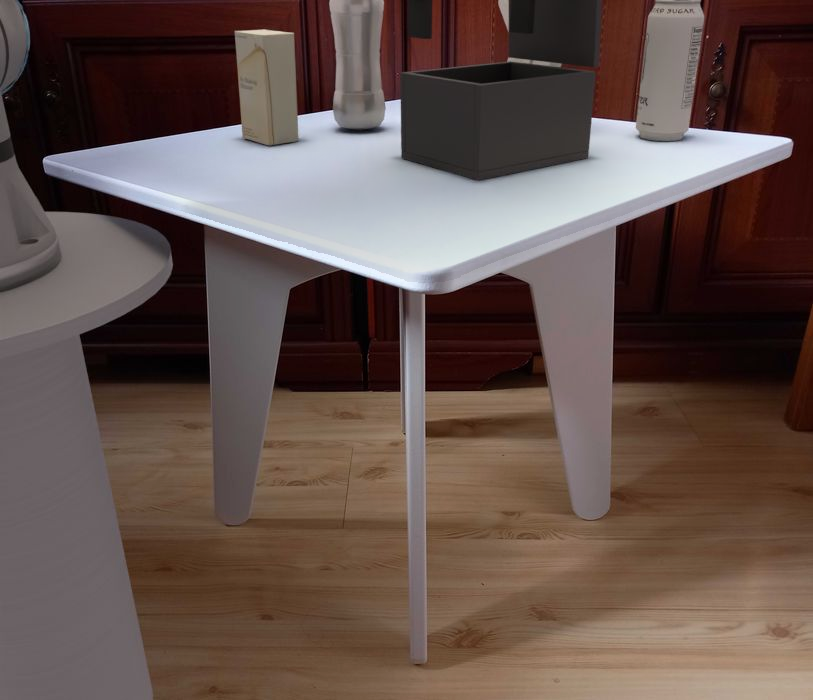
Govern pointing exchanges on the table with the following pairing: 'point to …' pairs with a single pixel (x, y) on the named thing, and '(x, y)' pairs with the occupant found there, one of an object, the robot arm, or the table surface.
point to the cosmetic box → (267, 86)
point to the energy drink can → (669, 69)
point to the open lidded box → (496, 117)
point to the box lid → (561, 33)
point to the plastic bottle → (358, 63)
